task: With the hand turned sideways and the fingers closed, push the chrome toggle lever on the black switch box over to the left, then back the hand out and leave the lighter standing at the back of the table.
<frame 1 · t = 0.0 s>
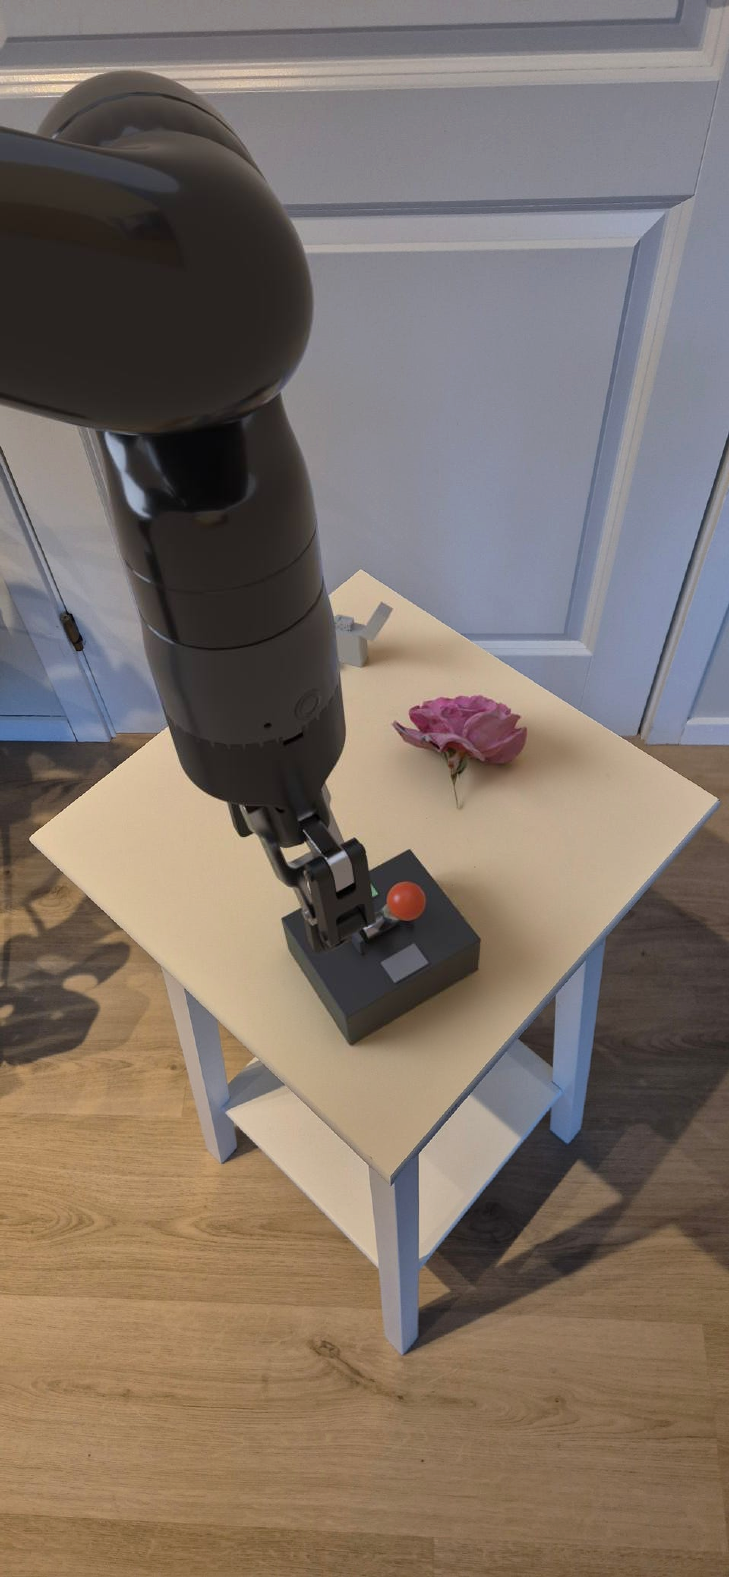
hand: (291, 881, 54), 27 cm above the table, tool pointing down, fingers open, 8 cm apart
switch box: (382, 959, 81), on the table
toggle: (392, 912, 71), point 11 cm above the table, hinge at 25.0°
flower: (457, 759, 93), on the table
lighter: (360, 662, 102), on the table
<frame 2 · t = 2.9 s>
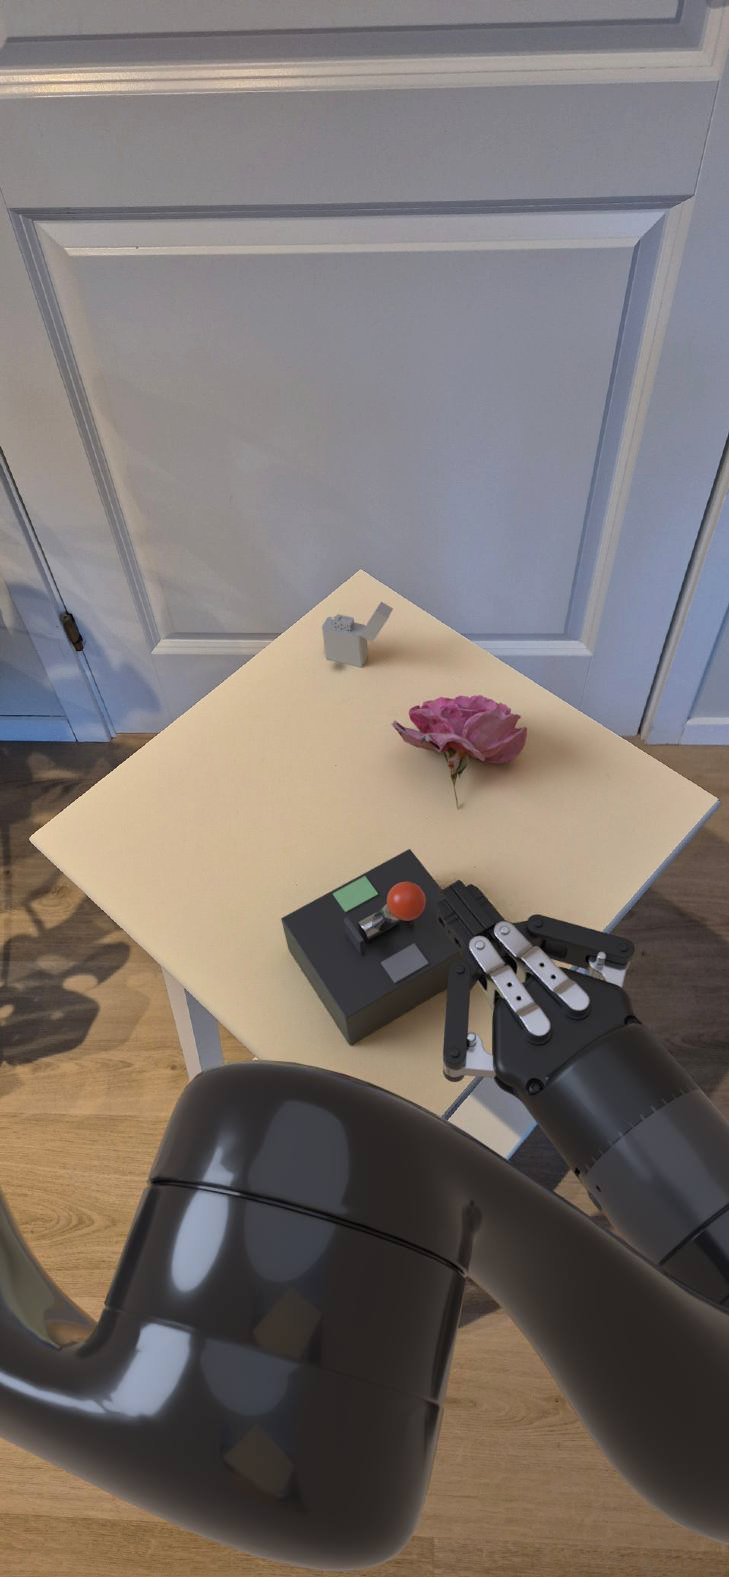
hand: (447, 893, 59), 22 cm above the table, tool horizontal, fingers closed
nothing on the table moved.
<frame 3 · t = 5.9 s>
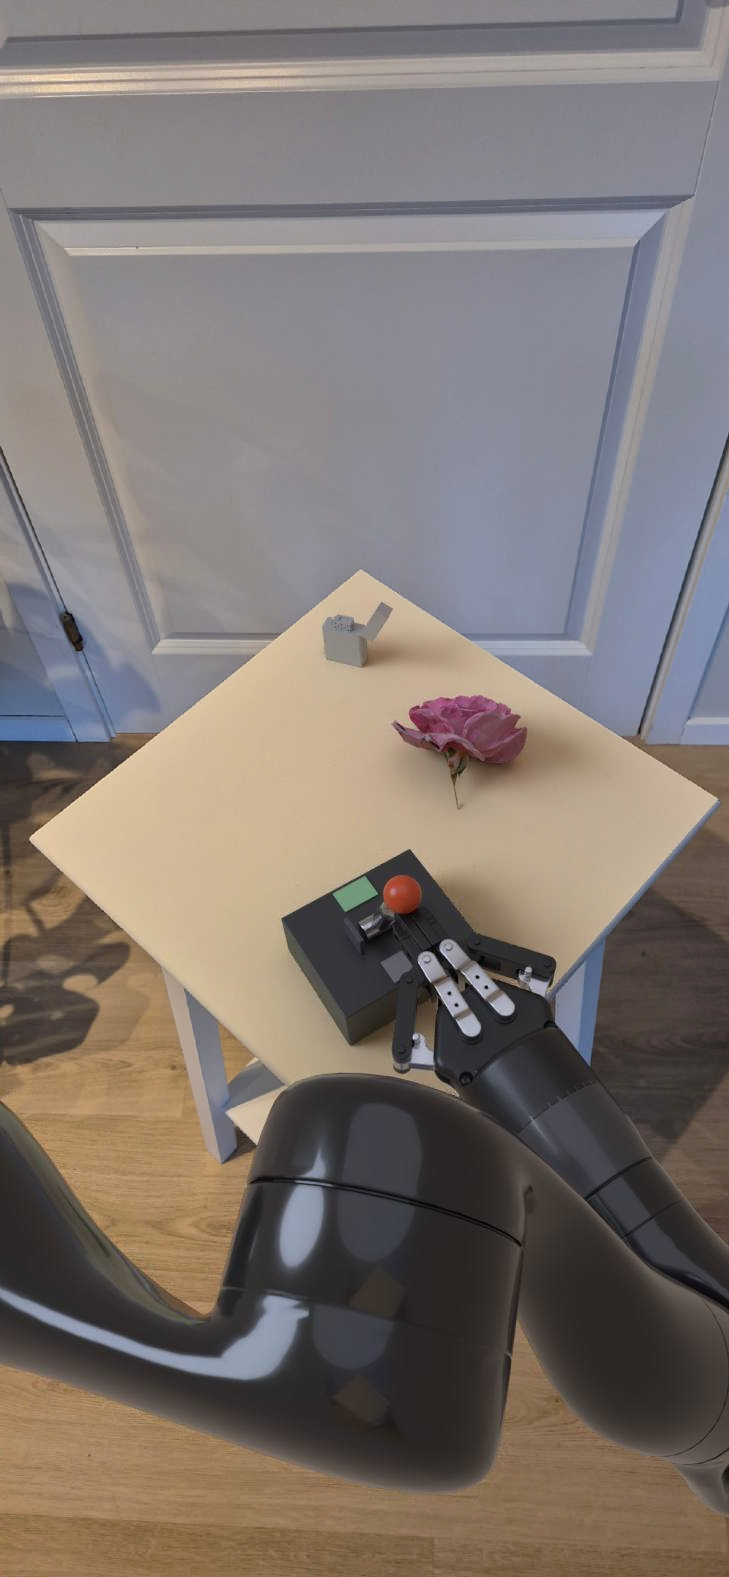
hand: (402, 913, 69), 13 cm above the table, tool horizontal, fingers closed
toggle: (390, 908, 71), point 11 cm above the table, hinge at 22.0°, touching gripper
everything else where it was.
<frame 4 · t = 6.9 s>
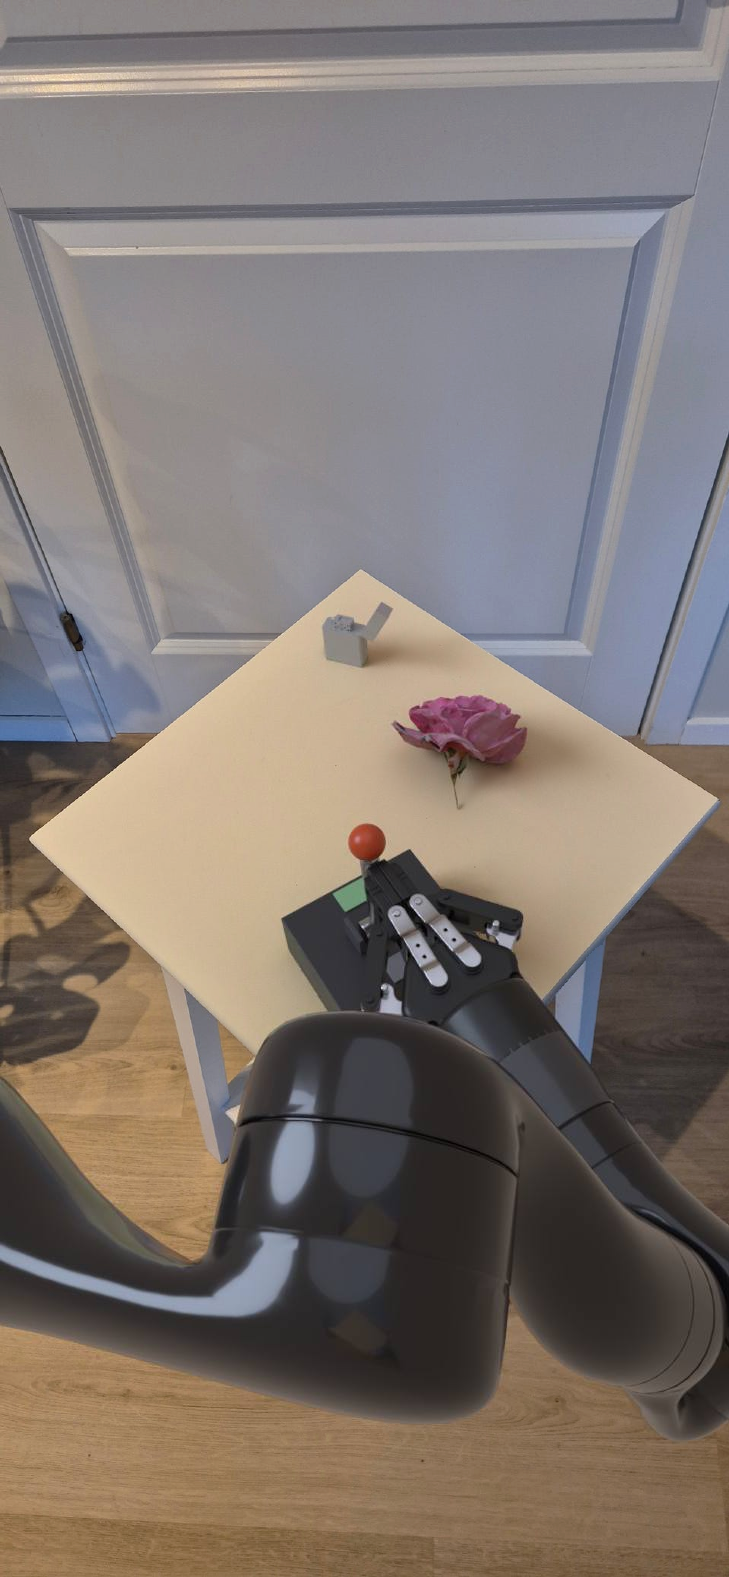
hand: (374, 869, 70), 13 cm above the table, tool horizontal, fingers closed
toggle: (373, 882, 72), point 11 cm above the table, hinge at -4.7°, touching gripper
everything else where it was.
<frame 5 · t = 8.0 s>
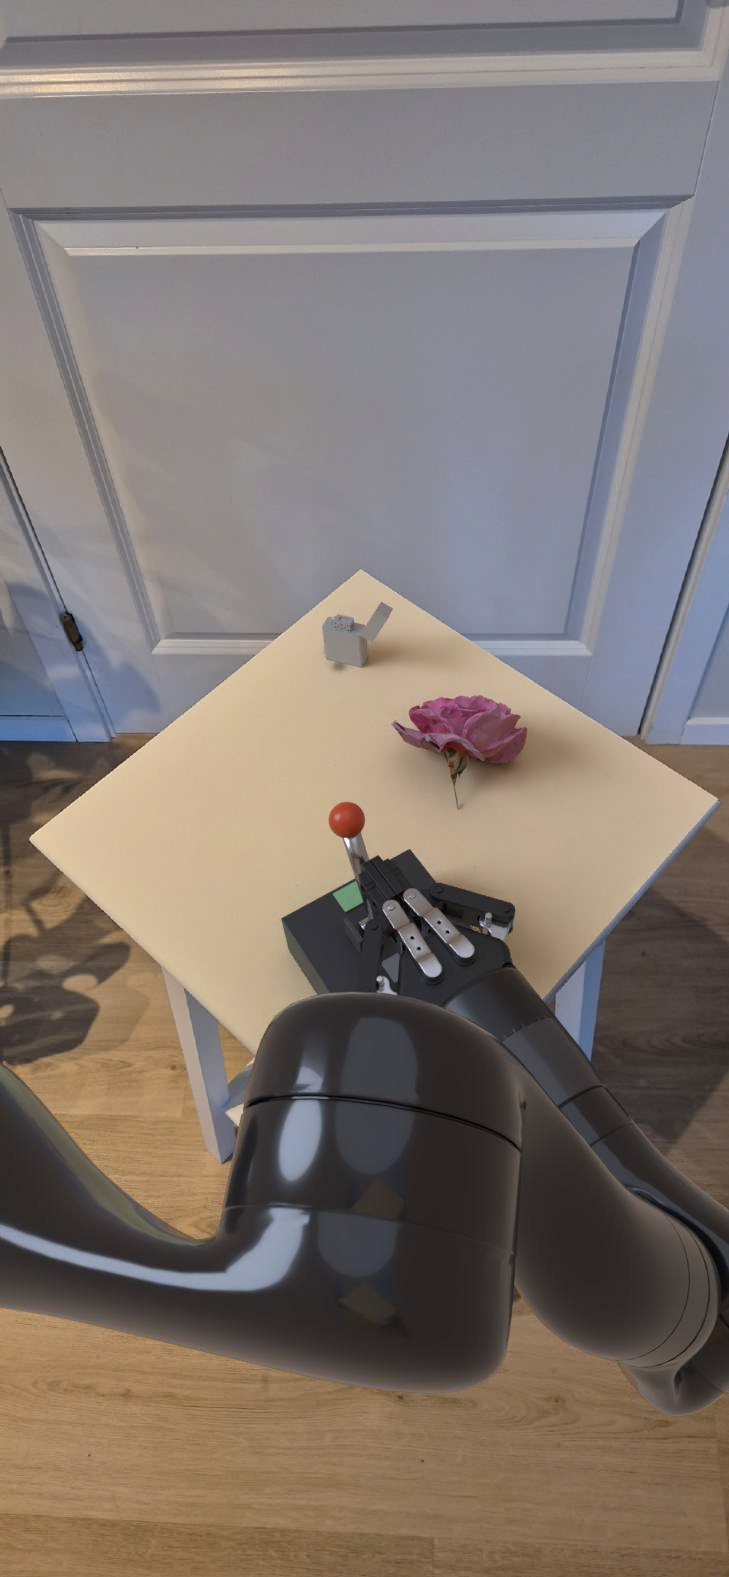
hand: (369, 866, 72), 13 cm above the table, tool horizontal, fingers closed
toggle: (362, 870, 73), point 11 cm above the table, hinge at -21.5°
everything else where it was.
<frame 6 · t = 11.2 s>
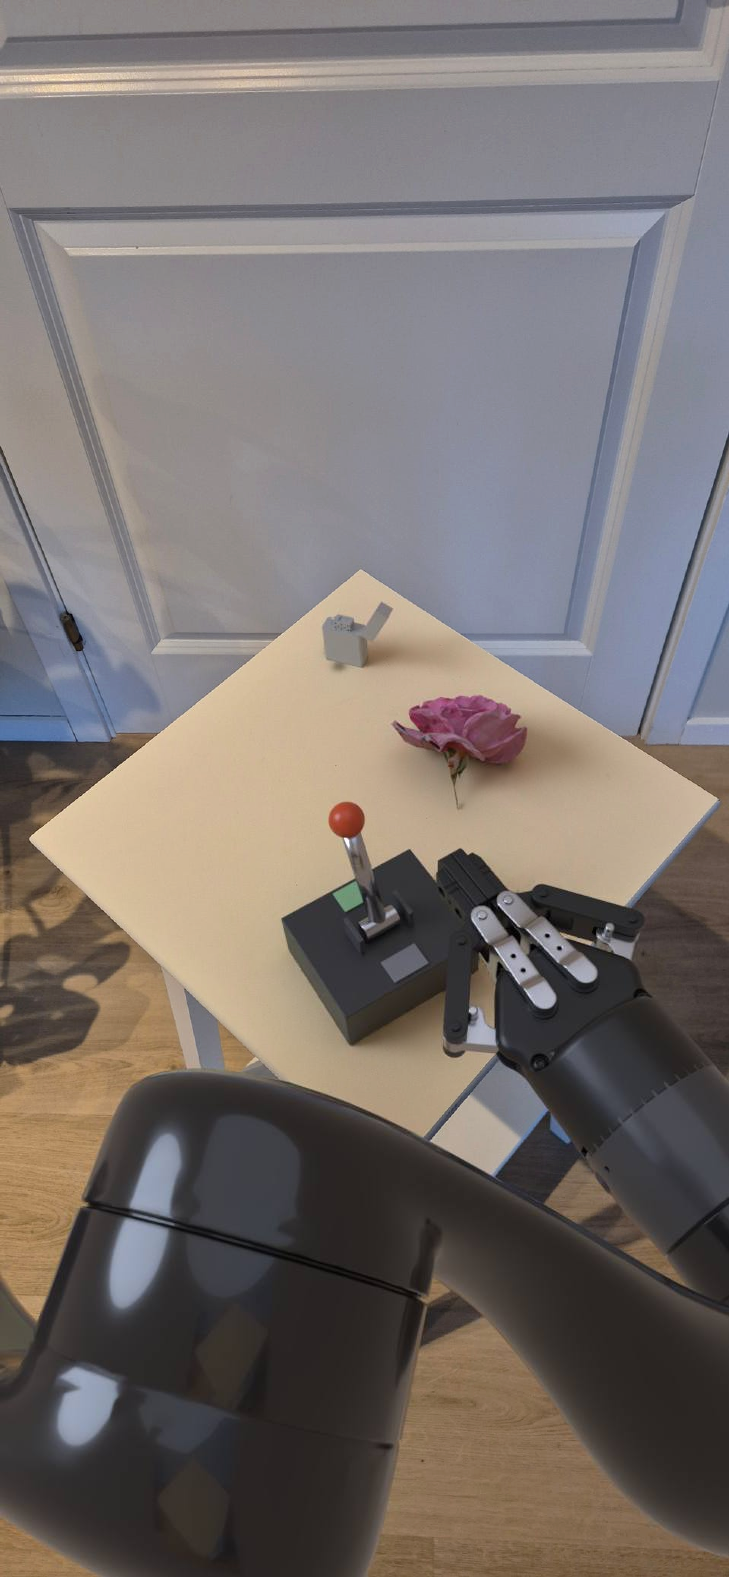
hand: (447, 862, 56), 26 cm above the table, tool horizontal, fingers closed
nothing on the table moved.
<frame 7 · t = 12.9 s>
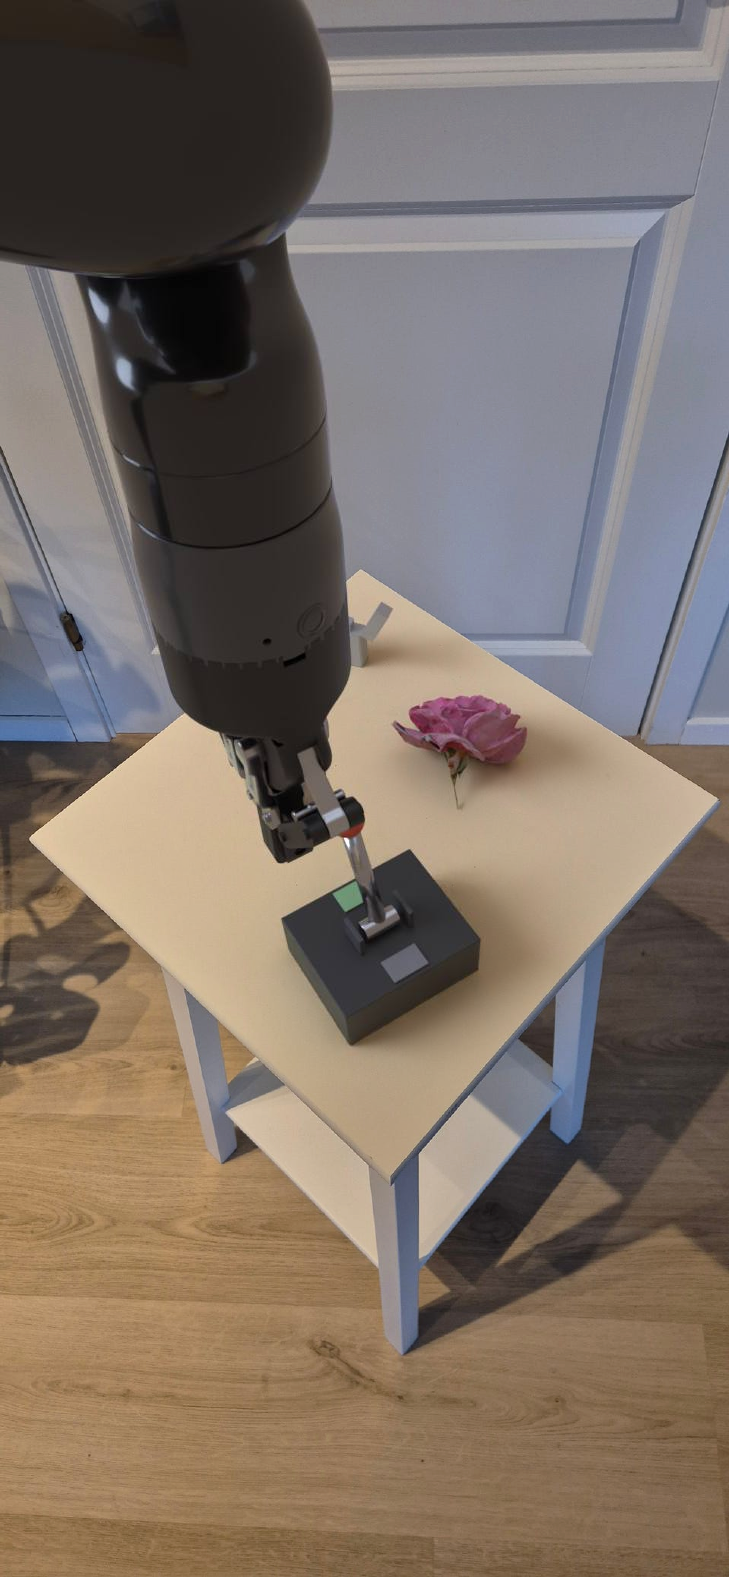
hand: (290, 847, 51), 30 cm above the table, tool pointing down, fingers closed
nothing on the table moved.
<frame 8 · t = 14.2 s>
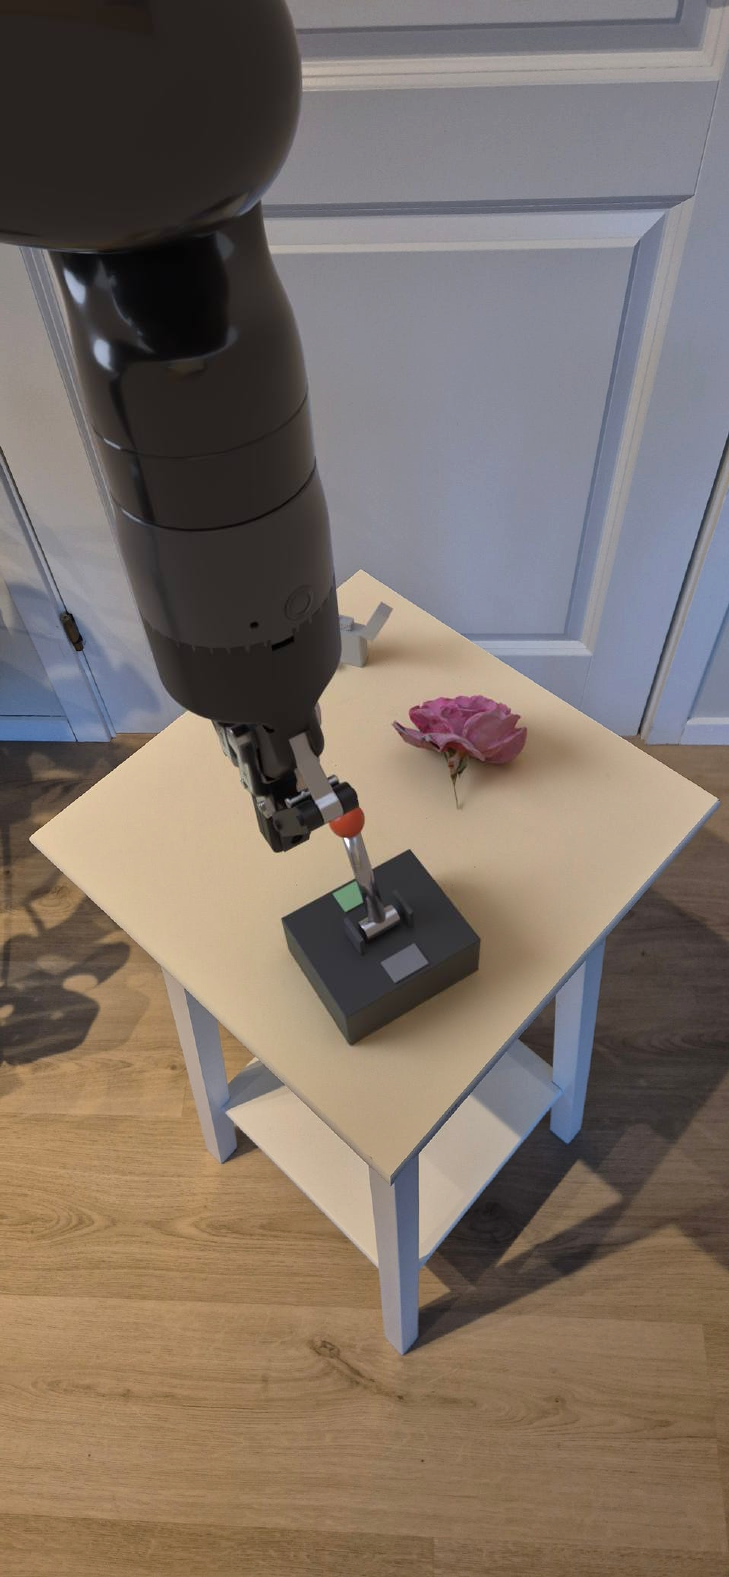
hand: (286, 836, 51), 31 cm above the table, tool pointing down, fingers closed
nothing on the table moved.
at the end: toggle at -22° (first picture: +25°); lighter tilted 0° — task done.
